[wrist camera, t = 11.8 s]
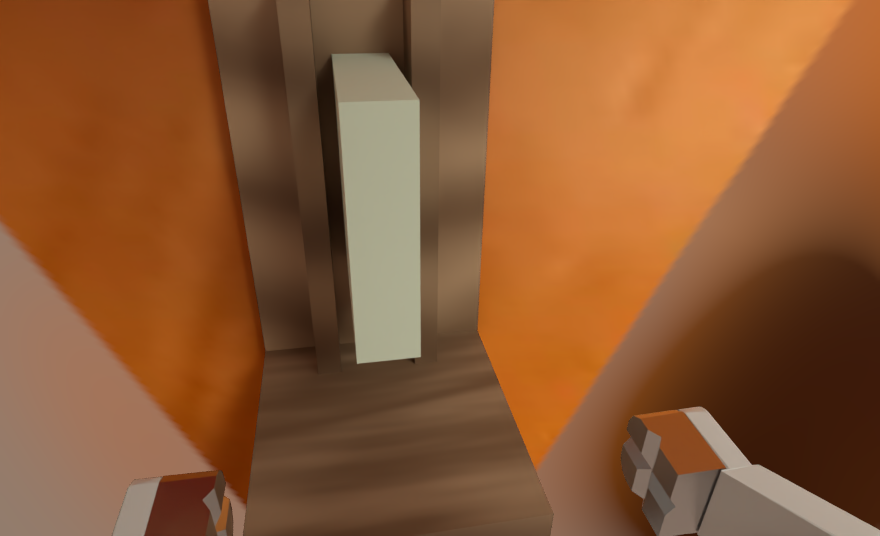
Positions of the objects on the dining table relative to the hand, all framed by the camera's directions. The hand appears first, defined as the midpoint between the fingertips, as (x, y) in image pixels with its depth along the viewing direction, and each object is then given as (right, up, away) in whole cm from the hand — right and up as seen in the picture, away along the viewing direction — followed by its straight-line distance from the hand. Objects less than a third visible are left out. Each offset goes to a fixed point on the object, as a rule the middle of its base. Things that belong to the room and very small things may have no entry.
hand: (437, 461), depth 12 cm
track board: (-4, +8, +19) cm, 20 cm away
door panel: (-4, +9, +17) cm, 19 cm away
